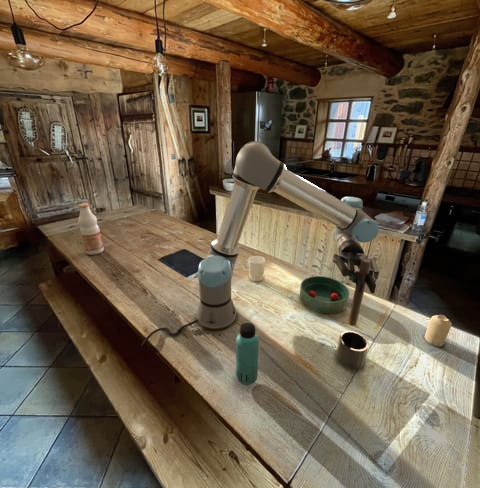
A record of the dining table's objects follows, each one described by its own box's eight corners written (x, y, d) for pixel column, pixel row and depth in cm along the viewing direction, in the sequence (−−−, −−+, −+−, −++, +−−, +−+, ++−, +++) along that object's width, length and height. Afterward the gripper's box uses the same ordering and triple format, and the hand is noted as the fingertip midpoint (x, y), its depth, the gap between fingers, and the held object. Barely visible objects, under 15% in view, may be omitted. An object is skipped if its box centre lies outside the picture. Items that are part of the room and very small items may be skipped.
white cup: (263, 283, 124) (264, 264, 120) (246, 281, 125) (247, 262, 121) (265, 274, 131) (266, 256, 127) (249, 272, 133) (249, 255, 128)
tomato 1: (312, 300, 111) (313, 294, 110) (306, 297, 113) (307, 291, 112) (316, 298, 112) (317, 292, 111) (311, 294, 115) (312, 288, 113)
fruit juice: (82, 253, 151) (69, 205, 140) (96, 246, 159) (85, 201, 148) (94, 256, 148) (82, 207, 137) (107, 249, 156) (97, 203, 144)
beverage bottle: (256, 369, 81) (258, 317, 72) (259, 390, 74) (261, 335, 66) (235, 370, 80) (235, 318, 72) (235, 390, 74) (235, 336, 66)
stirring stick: (353, 326, 80) (367, 263, 71) (346, 322, 82) (359, 259, 73) (358, 323, 82) (372, 260, 73) (351, 319, 83) (364, 257, 74)
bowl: (326, 322, 100) (329, 309, 98) (289, 296, 114) (291, 285, 112) (356, 303, 110) (359, 291, 108) (319, 282, 125) (320, 271, 122)
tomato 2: (334, 302, 109) (335, 296, 108) (328, 299, 112) (329, 293, 110) (339, 300, 111) (340, 294, 110) (333, 296, 113) (334, 290, 112)
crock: (353, 375, 79) (358, 355, 76) (330, 357, 85) (334, 338, 82) (368, 362, 83) (374, 342, 80) (346, 345, 89) (350, 327, 86)
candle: (425, 332, 95) (433, 309, 91) (444, 339, 92) (453, 316, 88) (423, 341, 91) (431, 318, 87) (442, 349, 88) (452, 325, 84)
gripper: (371, 261, 92) (395, 303, 70) (325, 257, 94) (335, 297, 73) (376, 241, 89) (402, 279, 67) (328, 238, 91) (339, 273, 70)
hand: (367, 288), depth 70 cm, fingers closed on stirring stick, 2 cm apart
